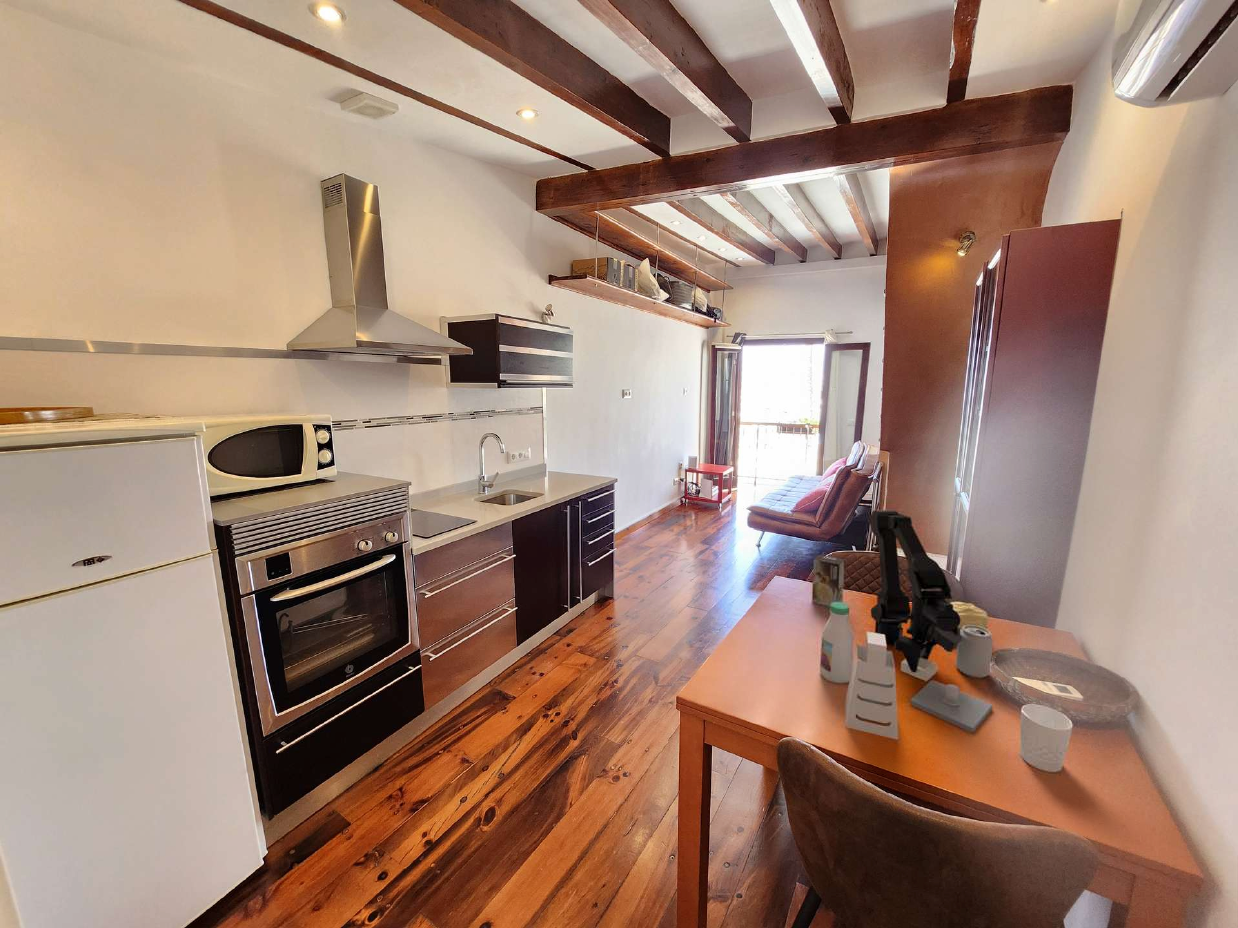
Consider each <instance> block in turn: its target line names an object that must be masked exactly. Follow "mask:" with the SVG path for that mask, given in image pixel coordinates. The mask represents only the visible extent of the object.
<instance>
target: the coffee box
mask: <svg viewBox="0 0 1238 928" xmlns="http://www.w3.org/2000/svg"><path fill="white" fill-rule="evenodd" d="M845 561H846V559H842V558H838V557H833V556H829V555H828V556H827V555H823V554H818V555H816V556H815V558H814V559H813V571H812V589H811V590H812V592H811V594H812V596H811V603H815V604H819V605H822V606H826V607H829V608H830V604H831V603H833V602H841V603H844V585H845V584H844V581H845Z"/></svg>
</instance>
